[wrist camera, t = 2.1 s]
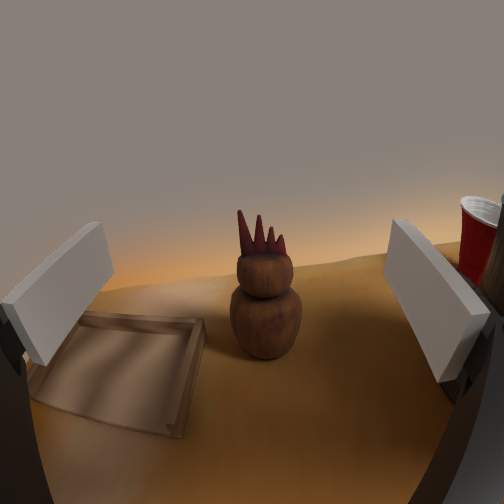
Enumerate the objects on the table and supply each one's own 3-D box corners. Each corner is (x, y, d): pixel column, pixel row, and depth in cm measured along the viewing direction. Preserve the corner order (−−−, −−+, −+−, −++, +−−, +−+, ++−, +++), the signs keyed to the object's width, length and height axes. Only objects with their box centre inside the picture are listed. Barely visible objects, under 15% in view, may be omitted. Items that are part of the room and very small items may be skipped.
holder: (206, 335, 33) (203, 318, 31) (181, 438, 21) (174, 424, 20) (79, 324, 34) (72, 309, 33) (32, 399, 22) (20, 384, 21)
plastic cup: (461, 301, 34) (485, 221, 28) (434, 262, 43) (448, 193, 38) (510, 296, 33) (534, 225, 27) (480, 262, 42) (496, 199, 36)
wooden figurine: (225, 356, 30) (206, 218, 23) (248, 322, 34) (240, 195, 27) (288, 374, 27) (293, 229, 20) (305, 336, 32) (313, 203, 25)
